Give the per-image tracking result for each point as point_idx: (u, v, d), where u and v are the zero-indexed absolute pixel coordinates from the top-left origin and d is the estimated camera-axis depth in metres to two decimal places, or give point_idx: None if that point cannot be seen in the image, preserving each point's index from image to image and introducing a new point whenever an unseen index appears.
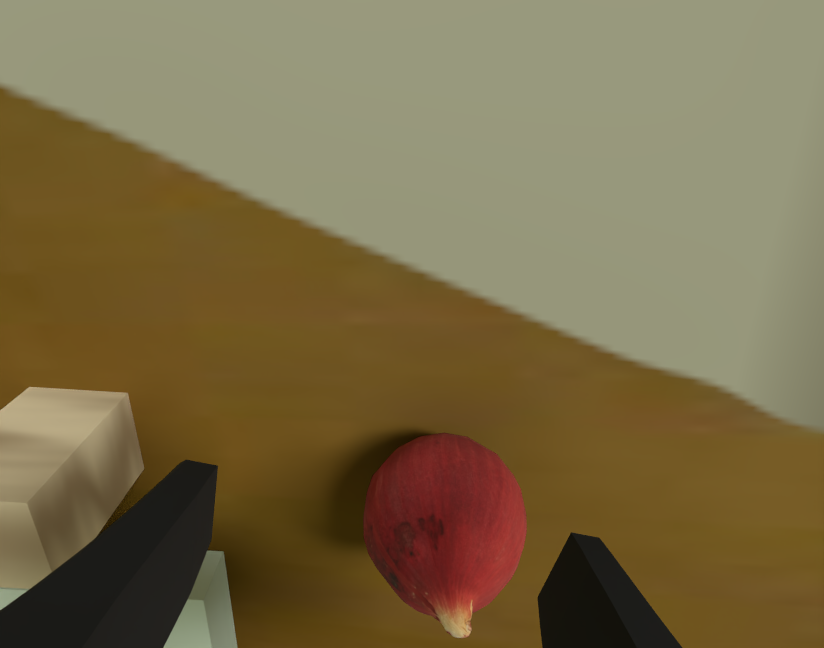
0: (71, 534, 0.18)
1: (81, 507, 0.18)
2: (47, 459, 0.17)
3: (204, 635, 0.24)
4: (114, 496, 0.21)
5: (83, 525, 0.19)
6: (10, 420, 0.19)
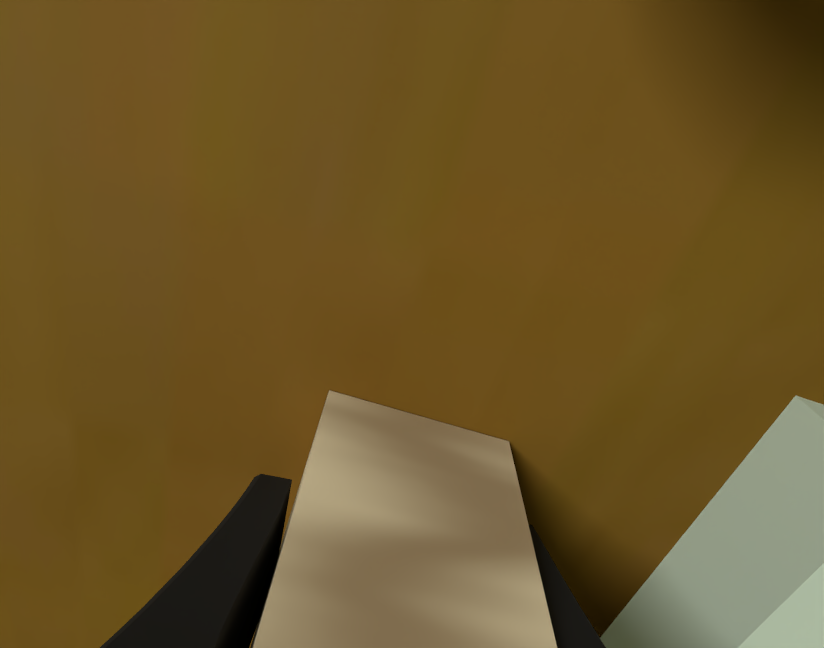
0: None
1: (434, 592, 0.07)
2: (270, 587, 0.07)
3: None
4: (498, 516, 0.09)
5: (484, 614, 0.07)
6: None
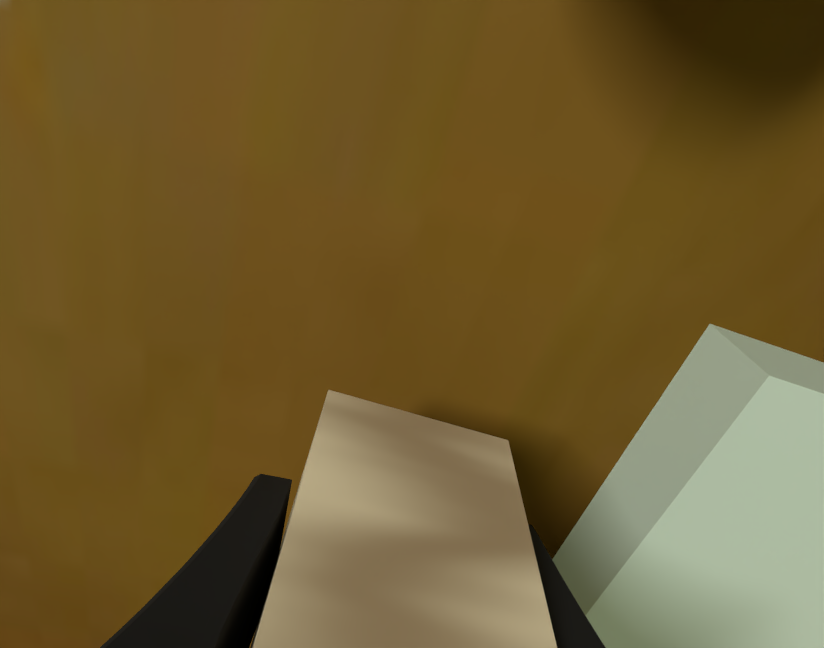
0: None
1: (433, 590, 0.07)
2: (270, 586, 0.07)
3: None
4: (498, 515, 0.09)
5: (483, 612, 0.07)
6: None
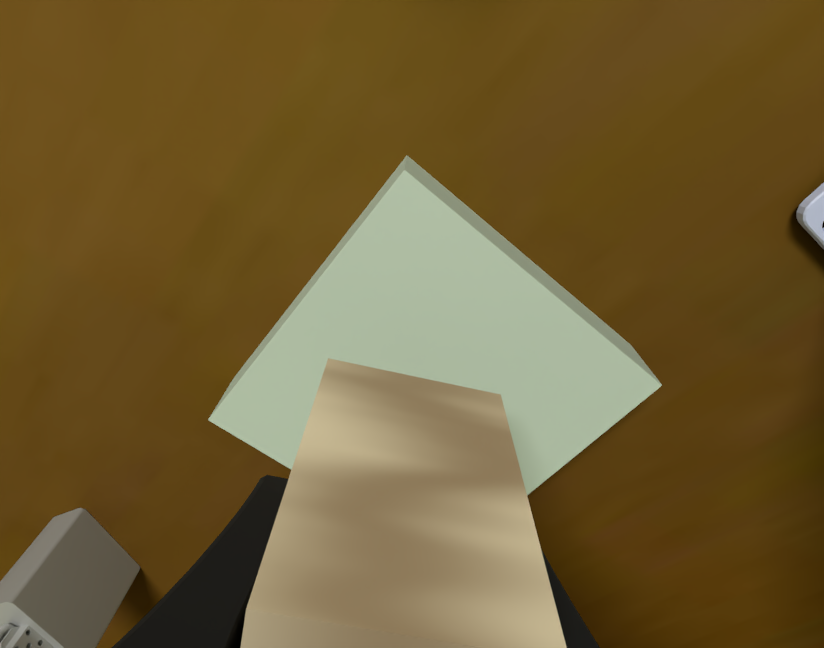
0: (461, 561, 0.07)
1: (426, 515, 0.08)
2: None
3: (471, 238, 0.14)
4: (489, 454, 0.10)
5: (473, 531, 0.08)
6: None
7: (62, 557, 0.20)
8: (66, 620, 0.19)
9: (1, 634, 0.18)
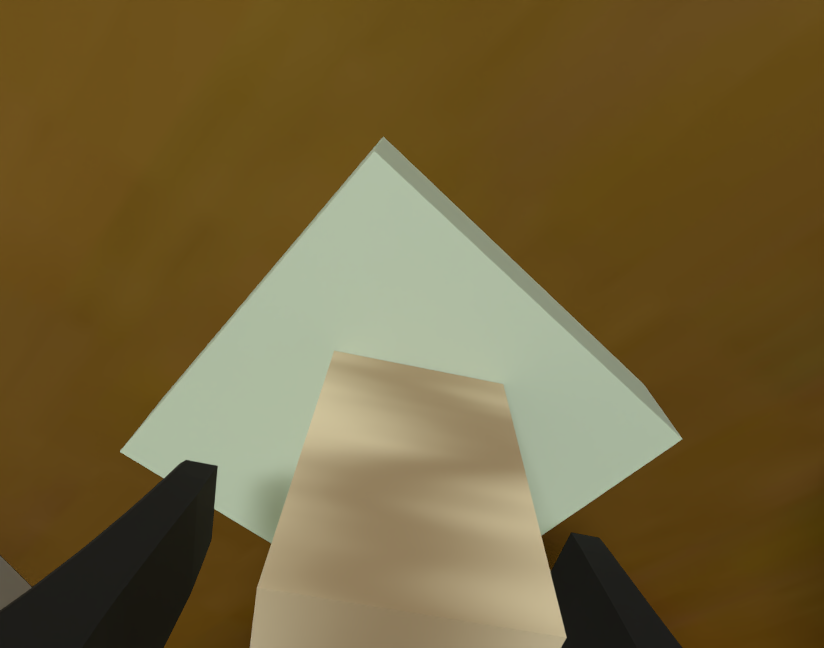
0: (463, 542, 0.08)
1: (429, 499, 0.08)
2: None
3: (457, 246, 0.11)
4: (491, 442, 0.10)
5: (474, 514, 0.08)
6: None
7: None
8: None
9: None
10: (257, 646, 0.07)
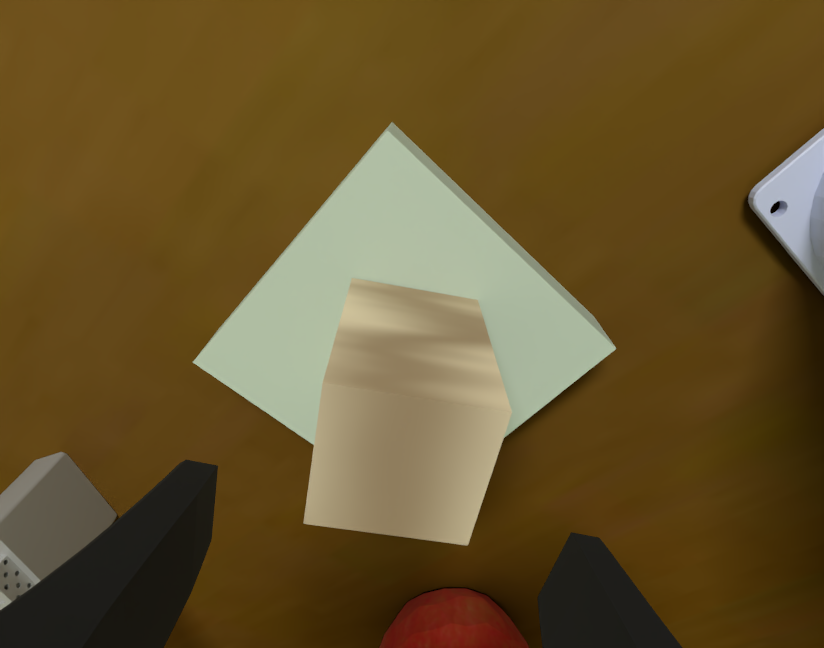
0: (447, 372, 0.12)
1: (425, 352, 0.12)
2: None
3: (446, 199, 0.15)
4: (468, 329, 0.14)
5: (455, 361, 0.12)
6: None
7: (42, 496, 0.21)
8: (43, 555, 0.20)
9: None
10: (320, 430, 0.11)
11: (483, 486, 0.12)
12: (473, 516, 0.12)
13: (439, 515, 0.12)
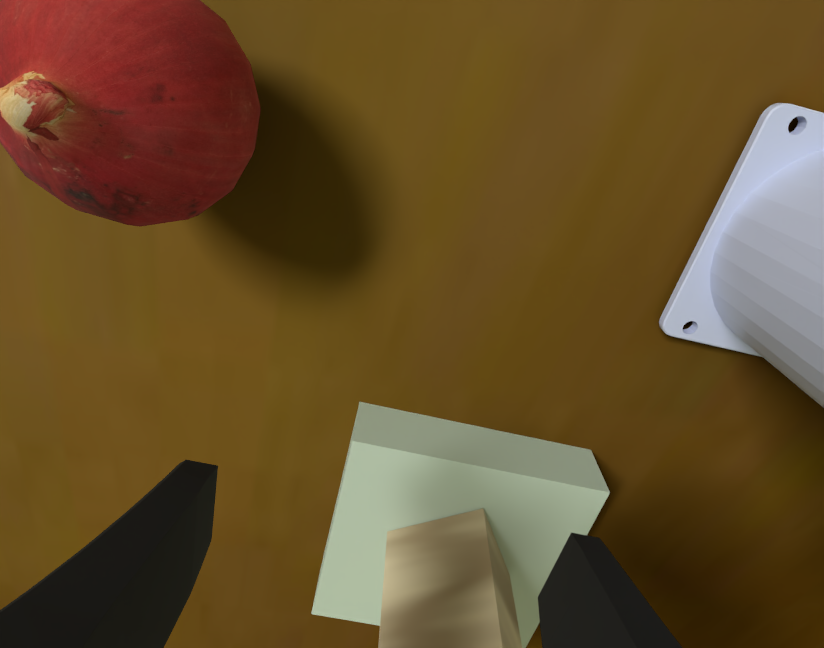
0: (459, 636, 0.16)
1: (443, 616, 0.17)
2: None
3: (417, 459, 0.19)
4: (474, 561, 0.18)
5: (465, 616, 0.16)
6: None
7: None
8: None
9: None
10: None
11: None
12: None
13: None
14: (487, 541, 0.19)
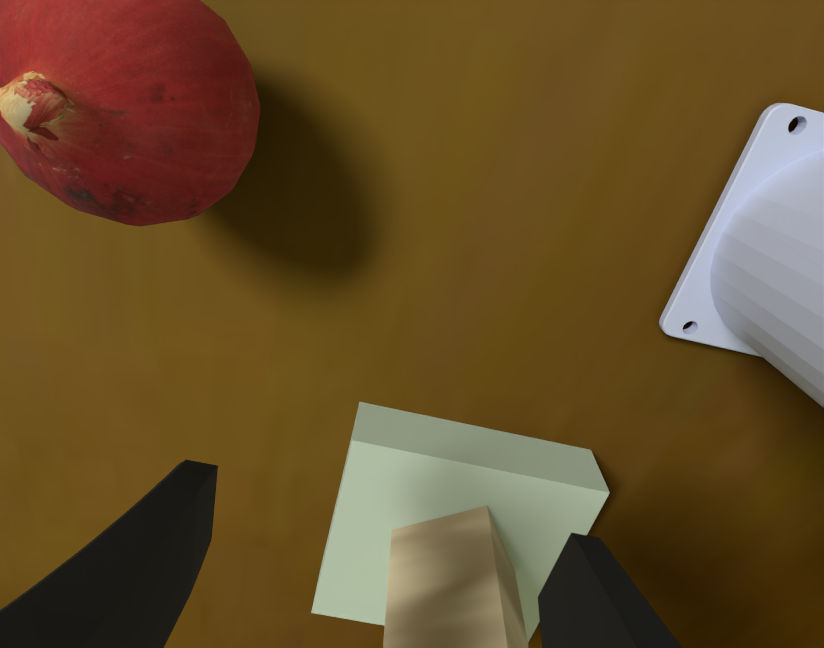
0: (463, 633, 0.16)
1: (447, 613, 0.17)
2: None
3: (416, 459, 0.19)
4: (479, 558, 0.18)
5: (469, 613, 0.16)
6: None
7: None
8: None
9: None
10: None
11: None
12: None
13: None
14: (491, 538, 0.19)
